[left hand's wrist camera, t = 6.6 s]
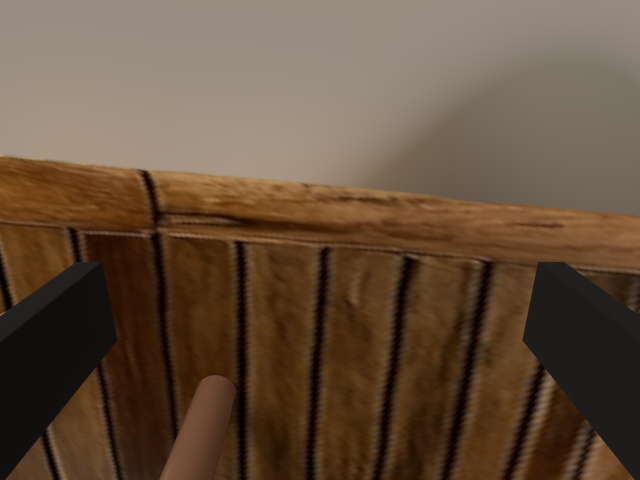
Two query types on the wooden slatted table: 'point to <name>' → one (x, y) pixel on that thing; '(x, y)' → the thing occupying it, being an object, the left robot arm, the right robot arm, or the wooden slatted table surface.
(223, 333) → the wooden slatted table surface
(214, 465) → the jar
